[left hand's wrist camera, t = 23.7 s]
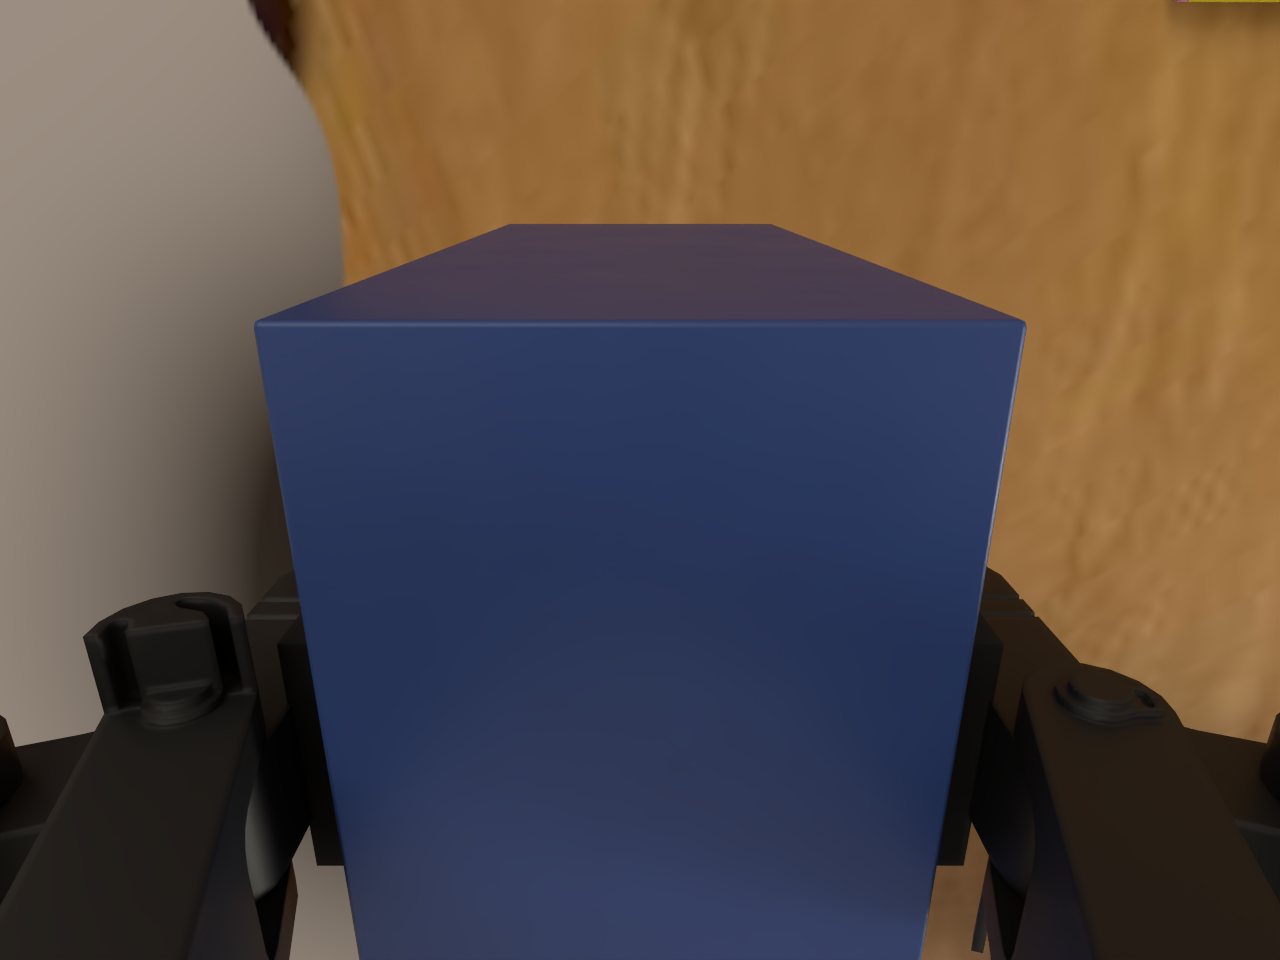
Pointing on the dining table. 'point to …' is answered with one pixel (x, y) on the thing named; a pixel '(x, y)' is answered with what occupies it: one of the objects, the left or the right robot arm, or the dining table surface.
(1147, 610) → the dining table surface
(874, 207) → the dining table surface
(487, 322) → the block
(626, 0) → the dining table surface
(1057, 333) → the dining table surface
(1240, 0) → the pencil
